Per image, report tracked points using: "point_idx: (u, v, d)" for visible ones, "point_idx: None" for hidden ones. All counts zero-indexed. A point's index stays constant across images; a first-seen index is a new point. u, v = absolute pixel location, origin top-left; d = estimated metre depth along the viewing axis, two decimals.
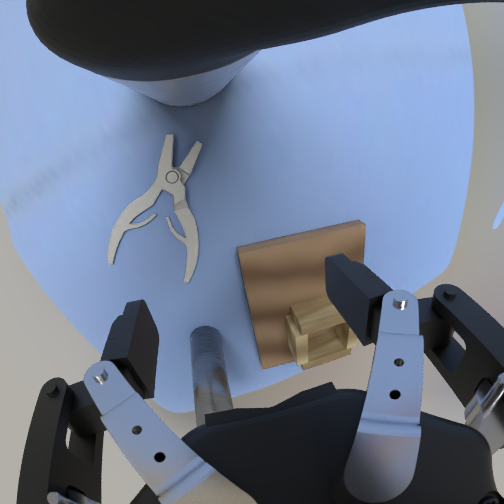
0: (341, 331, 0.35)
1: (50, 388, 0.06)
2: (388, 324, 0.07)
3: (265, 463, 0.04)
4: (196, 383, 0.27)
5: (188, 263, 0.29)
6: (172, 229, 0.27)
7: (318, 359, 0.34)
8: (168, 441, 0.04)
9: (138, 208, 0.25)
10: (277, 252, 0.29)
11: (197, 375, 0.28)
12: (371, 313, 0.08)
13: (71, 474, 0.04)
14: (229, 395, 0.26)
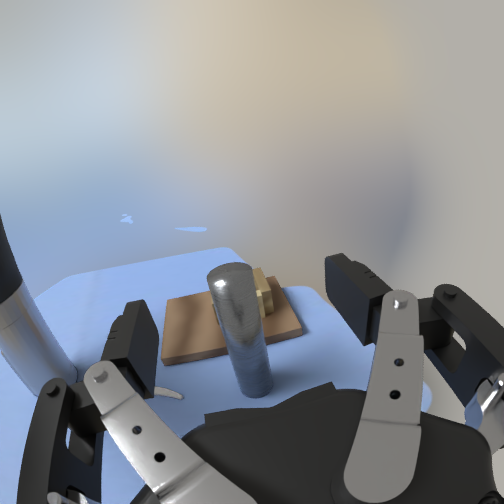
0: None
1: (50, 388, 0.06)
2: (388, 324, 0.07)
3: (265, 463, 0.04)
4: (230, 347, 0.26)
5: (164, 393, 0.30)
6: None
7: (258, 284, 0.41)
8: (168, 441, 0.04)
9: None
10: (168, 338, 0.38)
11: (231, 354, 0.26)
12: (371, 313, 0.08)
13: (71, 474, 0.04)
14: None
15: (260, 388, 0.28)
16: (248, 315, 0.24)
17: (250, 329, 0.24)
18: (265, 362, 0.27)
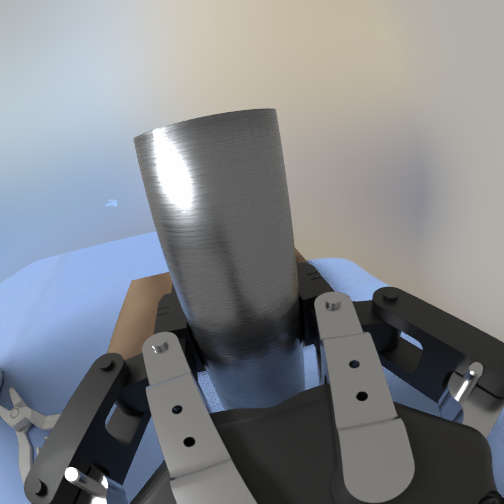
0: None
1: (105, 363, 0.07)
2: (328, 328, 0.07)
3: (265, 463, 0.04)
4: (209, 364, 0.09)
5: None
6: None
7: None
8: (203, 429, 0.04)
9: (25, 459, 0.10)
10: (119, 338, 0.21)
11: (213, 380, 0.09)
12: (307, 314, 0.09)
13: (101, 452, 0.05)
14: None
15: None
16: (265, 253, 0.07)
17: (270, 307, 0.08)
18: None
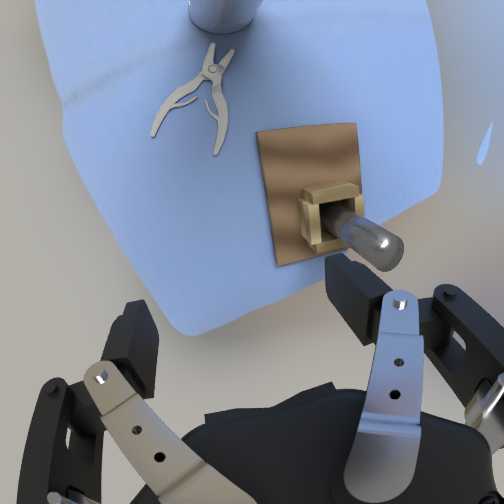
0: None
1: (50, 388, 0.06)
2: (388, 324, 0.07)
3: (265, 463, 0.04)
4: (345, 220, 0.32)
5: (218, 137, 0.34)
6: (208, 108, 0.32)
7: (330, 241, 0.38)
8: (168, 441, 0.04)
9: (184, 91, 0.31)
10: (288, 134, 0.35)
11: (342, 216, 0.33)
12: (371, 313, 0.08)
13: (71, 474, 0.04)
14: None
15: None
16: (358, 251, 0.29)
17: (351, 245, 0.30)
18: None
